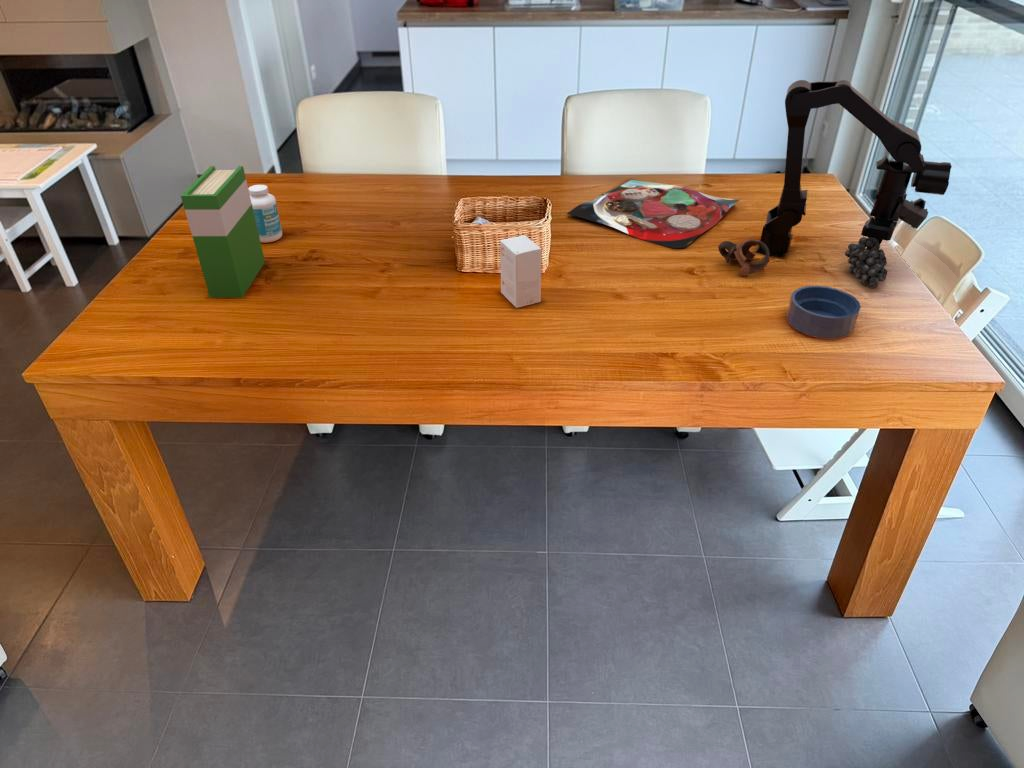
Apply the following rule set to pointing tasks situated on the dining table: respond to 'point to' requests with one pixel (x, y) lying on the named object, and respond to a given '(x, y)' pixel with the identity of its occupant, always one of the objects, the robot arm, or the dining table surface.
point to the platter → (656, 212)
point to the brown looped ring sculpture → (744, 255)
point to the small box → (520, 270)
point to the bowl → (823, 312)
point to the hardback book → (224, 231)
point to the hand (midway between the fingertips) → (873, 252)
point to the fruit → (867, 261)
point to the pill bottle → (265, 213)
